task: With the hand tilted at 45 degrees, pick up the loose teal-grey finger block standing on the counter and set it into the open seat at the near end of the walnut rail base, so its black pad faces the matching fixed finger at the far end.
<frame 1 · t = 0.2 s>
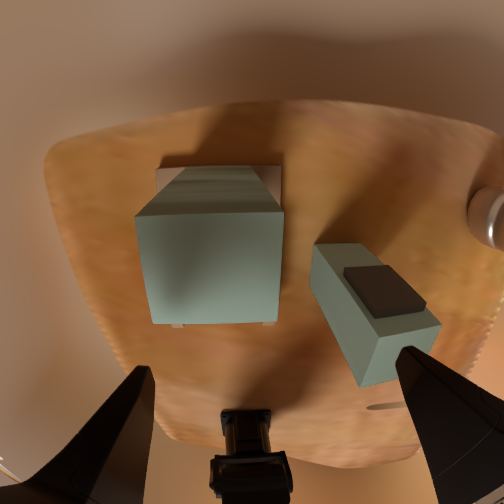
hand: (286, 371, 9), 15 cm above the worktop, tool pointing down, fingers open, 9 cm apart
plastic bottle: (476, 208, 24), on the worktop
rail: (220, 246, 23), on the worktop
finger block: (335, 264, 24), on the worktop
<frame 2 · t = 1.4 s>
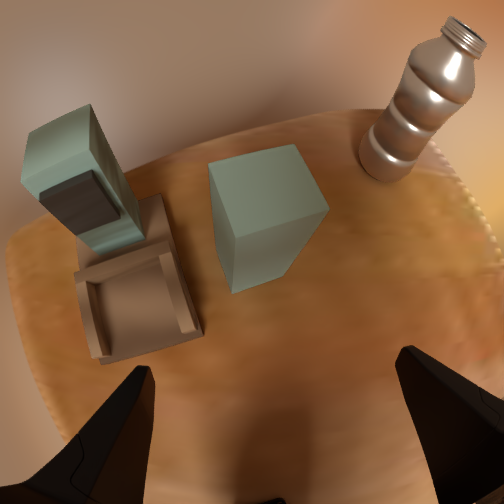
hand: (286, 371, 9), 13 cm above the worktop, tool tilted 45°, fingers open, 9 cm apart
plastic bottle: (377, 166, 29), on the worktop
rail: (131, 277, 22), on the worktop
finger block: (249, 263, 24), on the worktop
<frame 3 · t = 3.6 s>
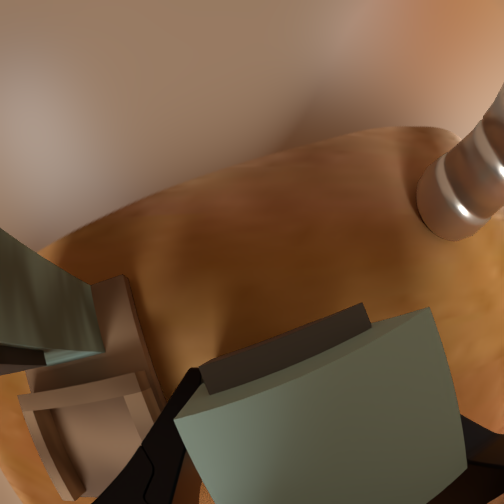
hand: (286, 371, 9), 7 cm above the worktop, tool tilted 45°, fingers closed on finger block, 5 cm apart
plastic bottle: (435, 213, 20), on the worktop
rail: (94, 399, 13), on the worktop
finger block: (263, 387, 14), on the worktop, touching gripper
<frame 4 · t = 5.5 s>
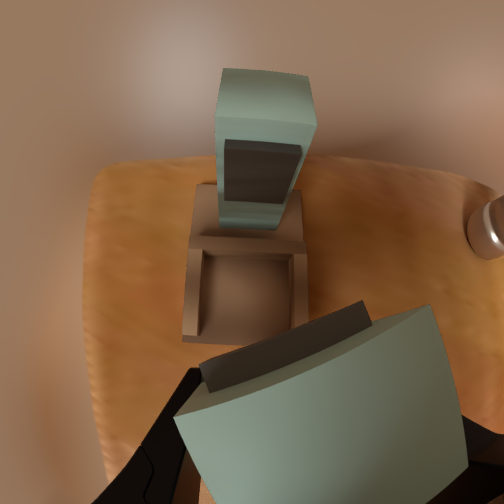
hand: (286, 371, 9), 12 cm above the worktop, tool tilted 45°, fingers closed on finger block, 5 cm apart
plastic bottle: (476, 239, 26), on the worktop
rail: (246, 262, 23), on the worktop
finger block: (264, 386, 14), point 6 cm above the worktop, touching gripper
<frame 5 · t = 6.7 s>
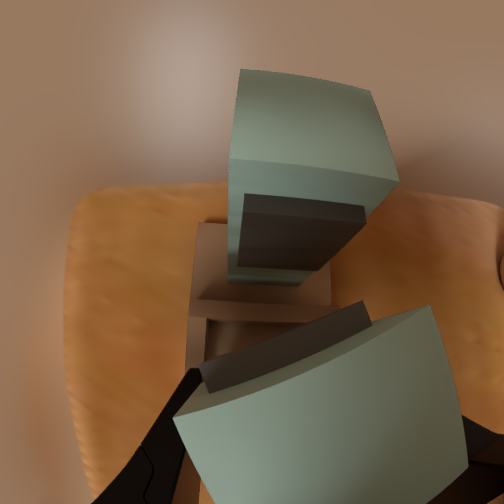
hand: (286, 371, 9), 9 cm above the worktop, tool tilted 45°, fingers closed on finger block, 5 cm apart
rail: (260, 325, 18), on the worktop
finger block: (264, 386, 14), point 2 cm above the worktop, touching gripper
when the fingers open (8 cm above the worktop, at t = 7.7 s): finger block stays where it is, resting on rail.
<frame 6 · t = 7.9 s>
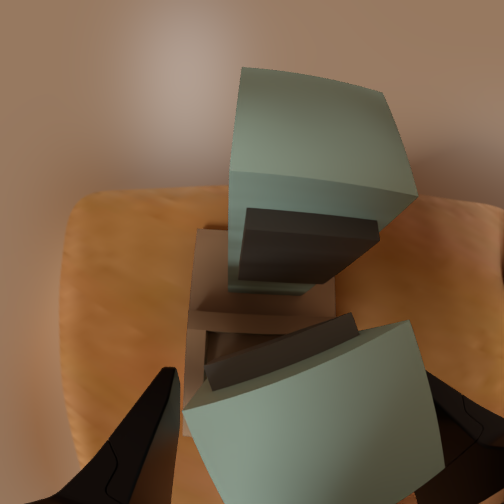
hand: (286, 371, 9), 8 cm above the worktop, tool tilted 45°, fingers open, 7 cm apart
rail: (261, 336, 17), on the worktop
finger block: (263, 386, 15), point 1 cm above the worktop, touching rail
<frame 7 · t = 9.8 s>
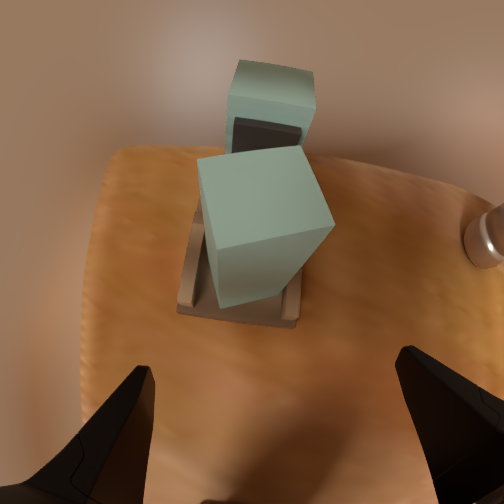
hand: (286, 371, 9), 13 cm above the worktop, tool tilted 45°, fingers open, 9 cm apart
plastic bottle: (472, 249, 27), on the worktop
rail: (245, 245, 24), on the worktop
finger block: (242, 277, 22), point 1 cm above the worktop, touching rail
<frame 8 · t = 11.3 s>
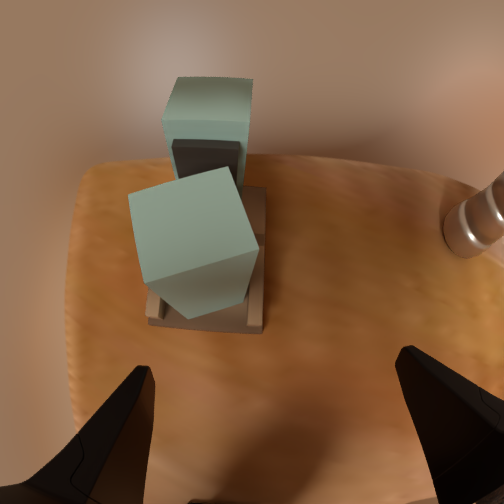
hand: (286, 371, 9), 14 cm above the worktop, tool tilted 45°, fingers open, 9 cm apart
plastic bottle: (454, 238, 27), on the worktop
rail: (210, 254, 24), on the worktop
finger block: (207, 287, 22), point 1 cm above the worktop, touching rail
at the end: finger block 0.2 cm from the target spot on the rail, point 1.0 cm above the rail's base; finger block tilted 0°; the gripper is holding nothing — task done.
